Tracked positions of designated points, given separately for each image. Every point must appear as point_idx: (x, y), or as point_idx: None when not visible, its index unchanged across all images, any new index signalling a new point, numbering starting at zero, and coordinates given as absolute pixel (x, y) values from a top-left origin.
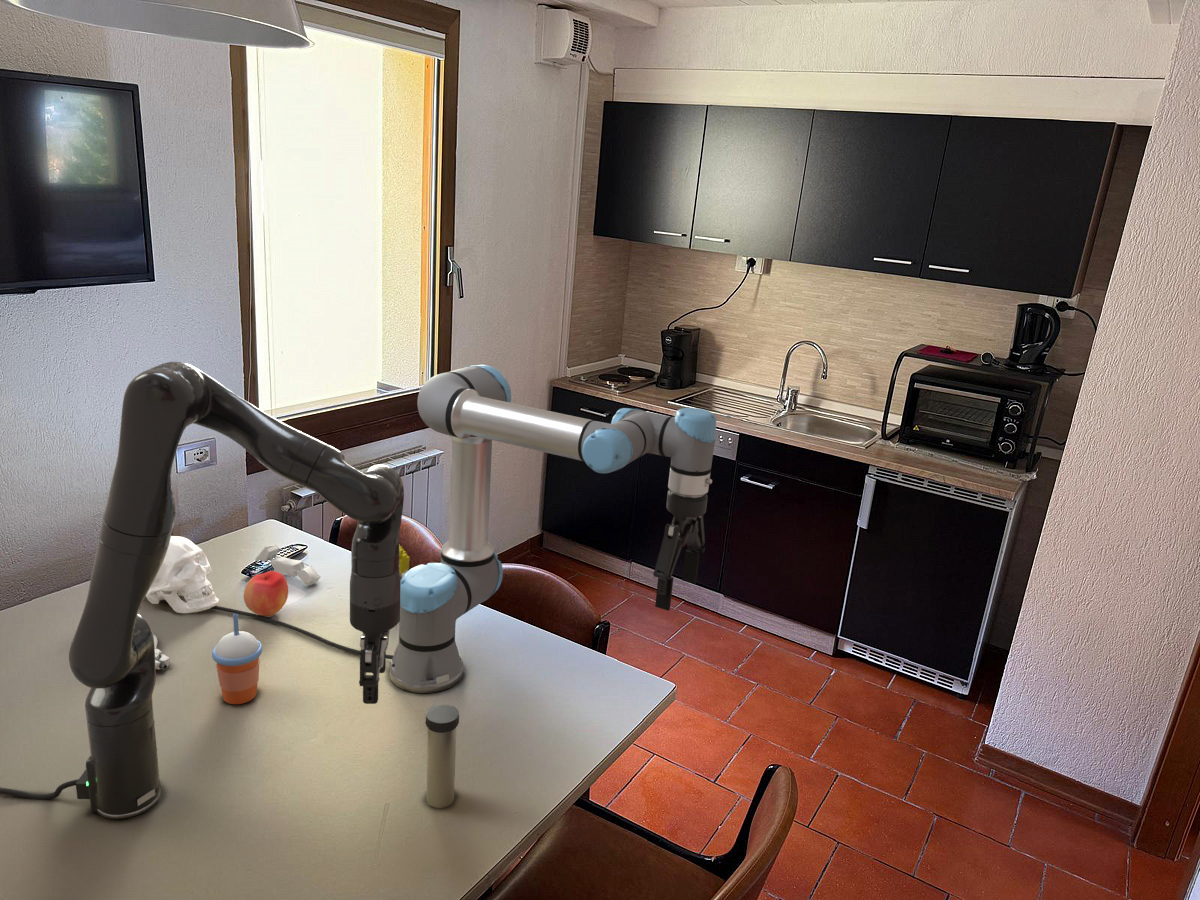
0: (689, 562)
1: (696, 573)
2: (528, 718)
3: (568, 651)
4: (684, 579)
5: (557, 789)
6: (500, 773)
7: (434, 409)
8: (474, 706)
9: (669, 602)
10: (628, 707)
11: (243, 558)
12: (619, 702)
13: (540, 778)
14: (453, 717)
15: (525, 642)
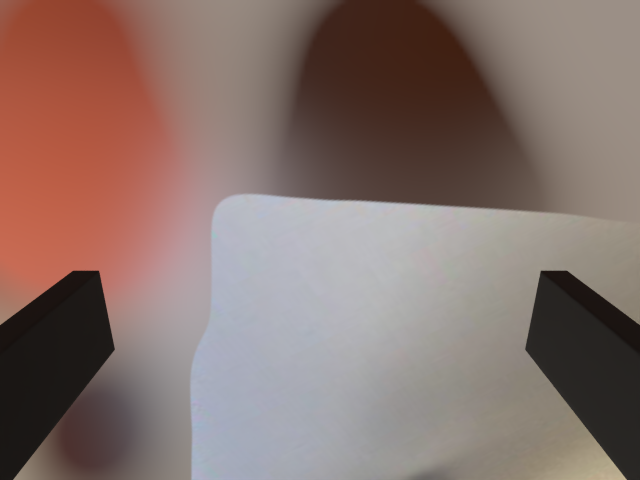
0: (11, 425)
1: (40, 307)
2: (452, 362)
3: (217, 404)
4: (106, 342)
5: (619, 234)
6: None
7: None
8: (463, 439)
9: (597, 297)
10: (322, 234)
11: None
12: (316, 256)
13: (601, 271)
14: None
15: (242, 469)
